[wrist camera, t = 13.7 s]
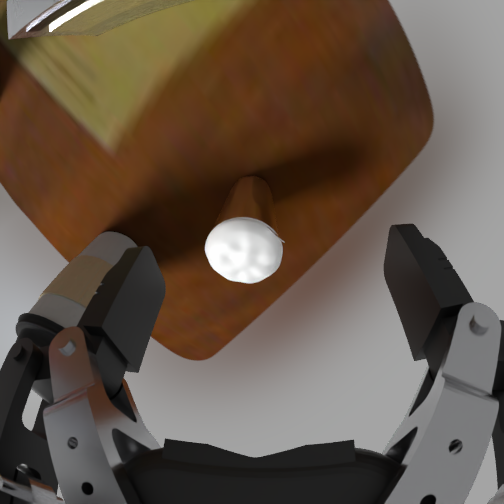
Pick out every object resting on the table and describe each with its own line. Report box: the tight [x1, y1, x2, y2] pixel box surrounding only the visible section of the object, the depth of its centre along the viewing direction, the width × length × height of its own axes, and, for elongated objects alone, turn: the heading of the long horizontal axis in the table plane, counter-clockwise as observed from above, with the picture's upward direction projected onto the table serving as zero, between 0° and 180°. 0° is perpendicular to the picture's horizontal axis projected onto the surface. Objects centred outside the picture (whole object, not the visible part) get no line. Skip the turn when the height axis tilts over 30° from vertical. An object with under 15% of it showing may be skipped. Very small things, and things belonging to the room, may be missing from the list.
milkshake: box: [205, 175, 285, 283], centre depth 19 cm, size 4×5×10 cm
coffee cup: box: [16, 232, 137, 348], centre depth 22 cm, size 9×9×15 cm
